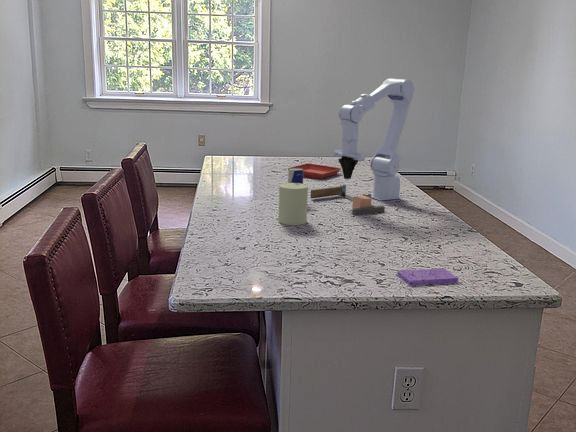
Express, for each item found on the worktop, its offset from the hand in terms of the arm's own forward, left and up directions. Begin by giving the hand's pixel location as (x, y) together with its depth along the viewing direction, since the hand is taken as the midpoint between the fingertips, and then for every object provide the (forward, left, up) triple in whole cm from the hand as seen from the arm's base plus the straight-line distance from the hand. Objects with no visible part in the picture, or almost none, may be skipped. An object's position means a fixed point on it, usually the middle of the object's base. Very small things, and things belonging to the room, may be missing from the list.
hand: (347, 178), depth 213 cm
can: (+28, +13, -10) cm, 33 cm away
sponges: (+23, +71, -10) cm, 75 cm away
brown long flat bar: (+2, -12, -9) cm, 15 cm away
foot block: (-1, +9, -10) cm, 13 cm away
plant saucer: (-18, -54, -10) cm, 58 cm away
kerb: (-1, +13, -9) cm, 16 cm away
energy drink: (+15, -10, -10) cm, 21 cm away
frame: (-7, -5, -9) cm, 13 cm away
